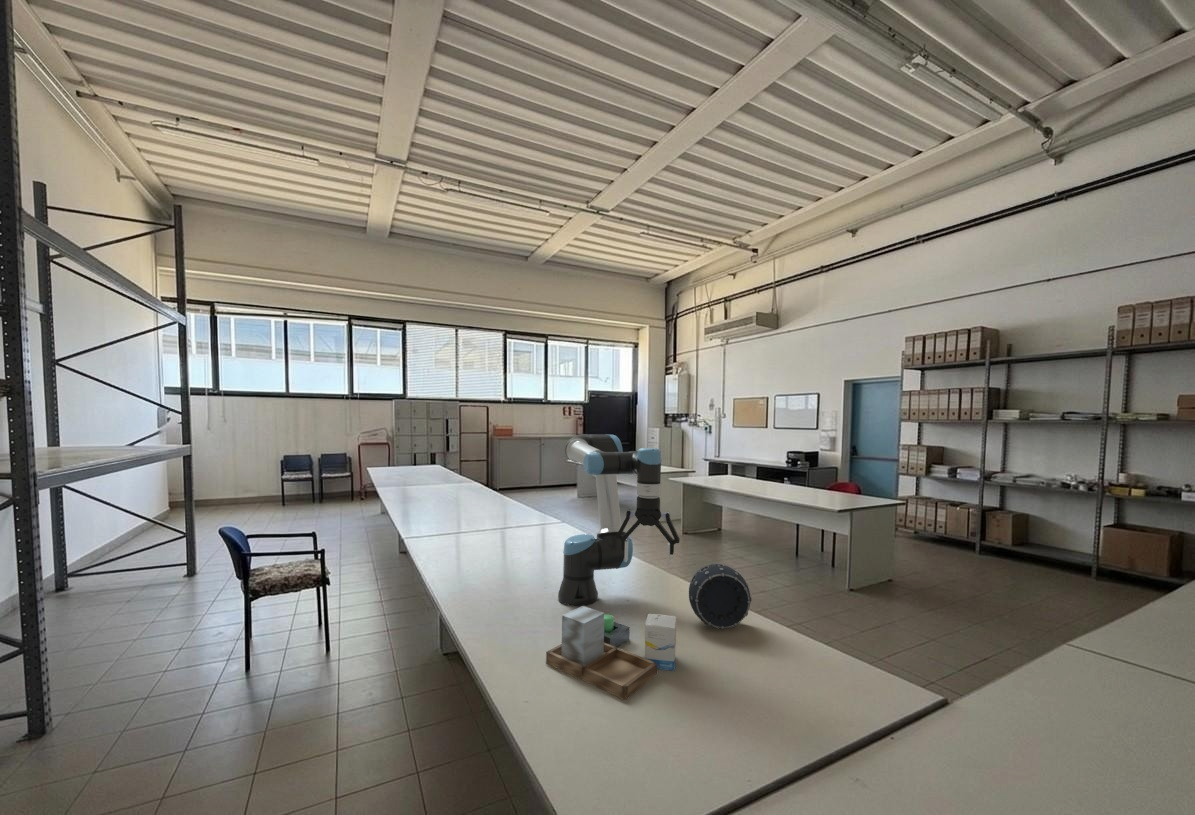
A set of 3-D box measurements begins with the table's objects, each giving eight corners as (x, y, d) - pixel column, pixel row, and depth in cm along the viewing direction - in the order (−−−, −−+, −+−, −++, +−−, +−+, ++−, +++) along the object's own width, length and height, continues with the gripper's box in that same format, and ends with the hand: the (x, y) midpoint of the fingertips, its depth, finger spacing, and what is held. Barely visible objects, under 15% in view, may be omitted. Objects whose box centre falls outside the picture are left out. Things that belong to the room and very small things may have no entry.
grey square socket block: (584, 641, 144) (584, 628, 144) (603, 630, 152) (604, 618, 152) (610, 652, 138) (610, 638, 138) (629, 640, 145) (629, 627, 146)
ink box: (674, 671, 128) (675, 627, 128) (643, 667, 129) (644, 624, 130) (675, 656, 136) (676, 615, 136) (646, 652, 138) (647, 612, 138)
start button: (597, 633, 144) (598, 617, 144) (605, 629, 147) (606, 613, 148) (608, 637, 142) (608, 621, 142) (616, 633, 145) (616, 617, 145)
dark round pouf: (753, 633, 151) (754, 571, 152) (691, 632, 152) (692, 569, 152) (744, 619, 162) (744, 561, 163) (686, 618, 163) (686, 560, 163)
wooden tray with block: (546, 662, 131) (547, 615, 131) (580, 643, 143) (581, 600, 143) (625, 700, 114) (626, 645, 114) (657, 674, 126) (658, 625, 126)
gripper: (608, 495, 150) (606, 562, 149) (687, 500, 144) (686, 569, 144) (612, 492, 157) (611, 555, 156) (688, 496, 152) (687, 562, 151)
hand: (647, 562), depth 150 cm, fingers open, 13 cm apart
